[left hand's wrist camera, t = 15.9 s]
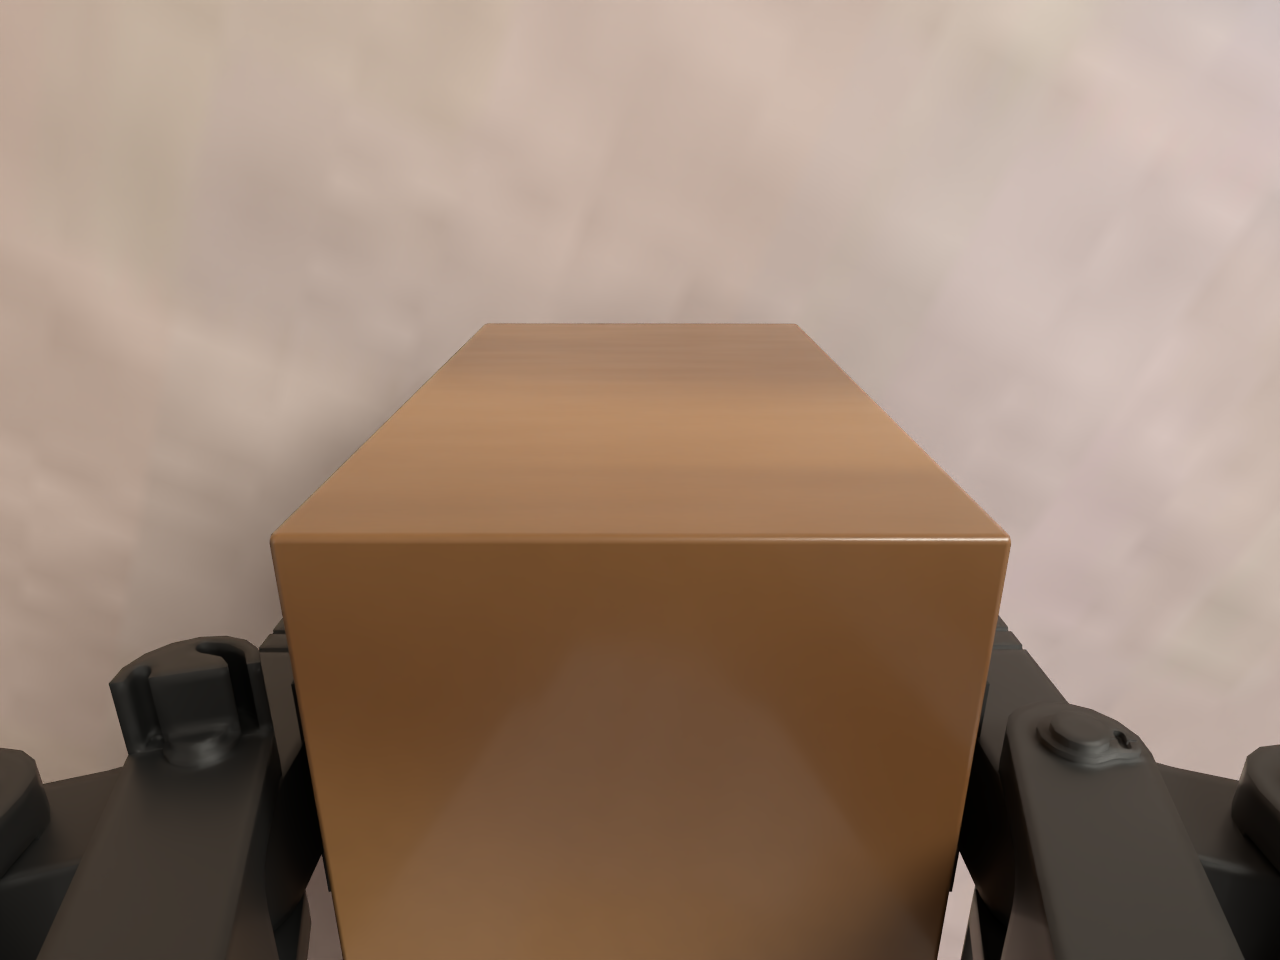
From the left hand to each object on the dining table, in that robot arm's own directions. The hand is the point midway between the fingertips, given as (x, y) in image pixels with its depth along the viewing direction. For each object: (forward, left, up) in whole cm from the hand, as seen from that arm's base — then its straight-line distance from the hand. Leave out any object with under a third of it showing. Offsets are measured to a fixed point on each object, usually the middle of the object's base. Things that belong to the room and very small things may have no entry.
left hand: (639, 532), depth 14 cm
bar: (+8, -7, -1) cm, 10 cm away
